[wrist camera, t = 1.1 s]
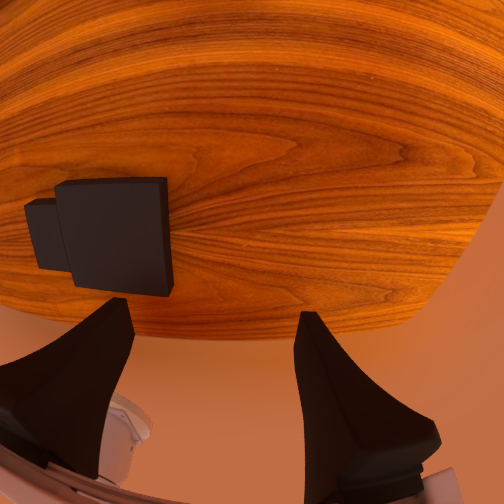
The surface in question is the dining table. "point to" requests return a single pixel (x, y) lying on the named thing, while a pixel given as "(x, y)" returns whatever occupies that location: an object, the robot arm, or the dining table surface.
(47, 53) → the dining table surface
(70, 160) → the dining table surface
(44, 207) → the small pad
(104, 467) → the robot arm
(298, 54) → the dining table surface
